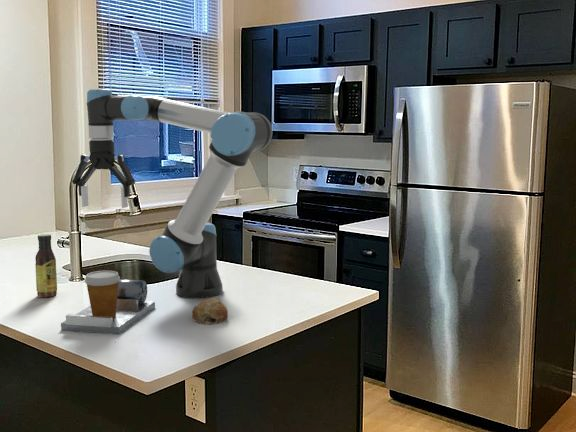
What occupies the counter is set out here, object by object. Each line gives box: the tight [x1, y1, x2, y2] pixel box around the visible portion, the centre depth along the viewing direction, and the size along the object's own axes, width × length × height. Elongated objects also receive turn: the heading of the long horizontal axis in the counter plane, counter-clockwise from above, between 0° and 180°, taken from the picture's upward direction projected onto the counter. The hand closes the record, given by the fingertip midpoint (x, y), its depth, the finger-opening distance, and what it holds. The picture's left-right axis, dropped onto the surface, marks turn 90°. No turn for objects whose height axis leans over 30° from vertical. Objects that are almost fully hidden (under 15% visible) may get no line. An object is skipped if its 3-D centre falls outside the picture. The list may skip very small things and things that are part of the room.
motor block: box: [60, 278, 156, 335], centre depth 186 cm, size 17×25×9 cm
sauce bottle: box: [34, 233, 58, 298], centre depth 209 cm, size 7×6×20 cm
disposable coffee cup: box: [84, 270, 121, 317], centre depth 182 cm, size 10×10×12 cm
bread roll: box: [191, 297, 229, 325], centre depth 185 cm, size 10×10×8 cm
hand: (104, 206), depth 207 cm, fingers open, 13 cm apart
